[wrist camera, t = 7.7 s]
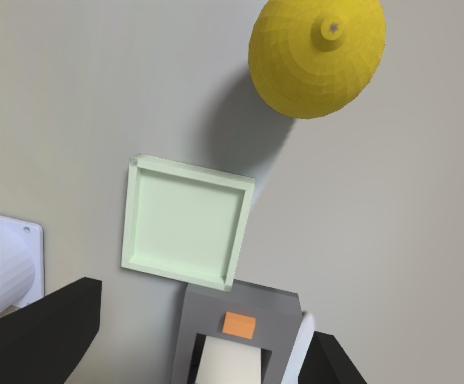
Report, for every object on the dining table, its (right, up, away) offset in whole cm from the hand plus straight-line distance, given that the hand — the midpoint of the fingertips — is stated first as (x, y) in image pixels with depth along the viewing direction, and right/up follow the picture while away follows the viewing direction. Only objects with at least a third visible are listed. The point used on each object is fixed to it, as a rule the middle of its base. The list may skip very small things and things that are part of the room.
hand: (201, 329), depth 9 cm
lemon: (+5, +12, +7) cm, 15 cm away
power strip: (-1, -17, +16) cm, 23 cm away
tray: (-2, +3, +10) cm, 11 cm away
